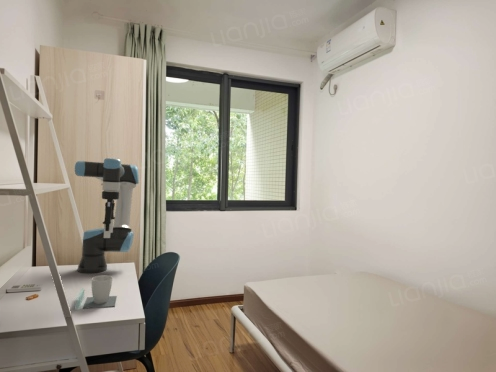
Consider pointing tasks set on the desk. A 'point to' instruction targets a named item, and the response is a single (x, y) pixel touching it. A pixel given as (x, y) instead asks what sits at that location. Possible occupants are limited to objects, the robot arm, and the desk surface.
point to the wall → (79, 299)
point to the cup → (101, 288)
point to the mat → (90, 304)
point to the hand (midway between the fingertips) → (108, 235)
